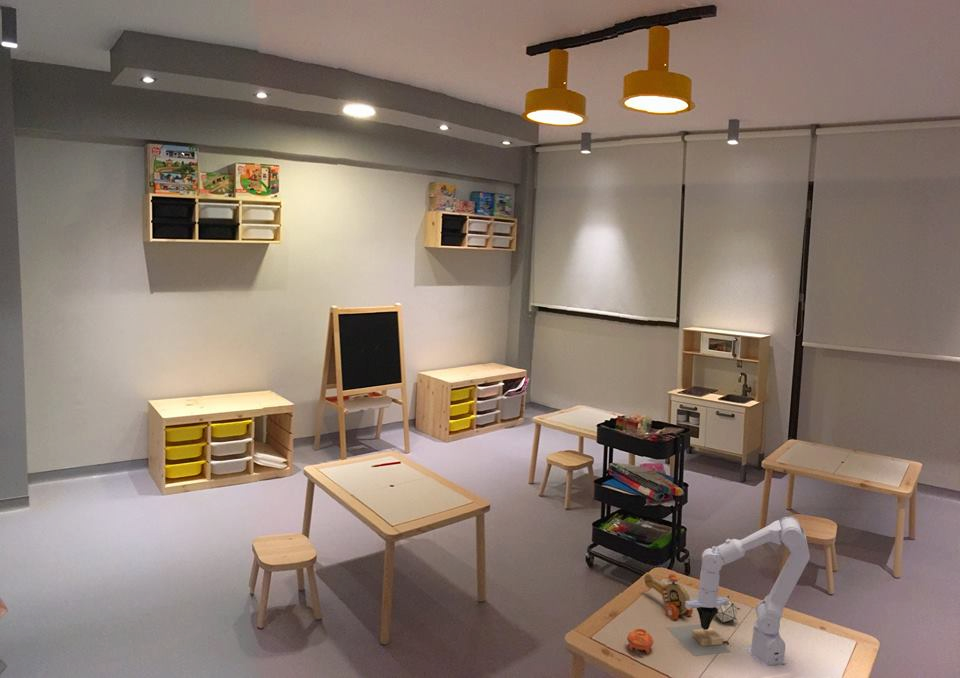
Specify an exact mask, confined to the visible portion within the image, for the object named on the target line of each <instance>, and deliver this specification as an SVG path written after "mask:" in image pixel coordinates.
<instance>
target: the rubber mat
mask: <svg viewBox="0 0 960 678" xmlns="http://www.w3.org/2000/svg"><path fill="white" fill-rule="evenodd" d="M666 629H667V631H669V632H670V633H671V634H672V636H673V637H675V639H677V640H678V642H680V644H681V645H683V647H684V648H685V649H686V650H687V651H688V652H689V653H690V654H691V655H692V656H693V657H698V656H707V655H716V654H722V653H731V650H730V649H729V648H728V647H727V646H726V645H725V644H724V643H722V644H719V645H710V646H702V645H701V644H700V643H699V642H698V641H697V640H696V639H695V638H694V637H693V636H692V630H697V629H703V628H702V627H701V623H699V624H690V625H682V626H681V625H680V626H670V627H666Z"/></svg>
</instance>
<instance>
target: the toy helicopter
mask: <svg viewBox="0 0 960 678" xmlns="http://www.w3.org/2000/svg"><path fill="white" fill-rule="evenodd" d="M643 579H644V583H645V586H646V587H647V588H648V589H653V590H655V591H656V592H657V593H659V594H660V595H661V598H662V600H663V601H662V602H663V604H662V608H663V609H664V610H665V611H664V613H665V615H666V617H668V618H669V619H670V620H672V621H673V620H678V618H679V616H680V615H684V616H685V617H690V616H692V614H693V609H694V608H691V610H688V609H687V608H686V607H685V601H689V600H691V599H690V595H689V593H688V591H687V590H686V588H685V587H684V586H682V585H681V584H678V583H679V580H680V579H681V578H680V577H678V576H676V575H675V574H674V573H670V574H669V575H668V576H666V577H665V579H667V583H668V584H665V583H663V582H661V581H660V580H658V579H657V578H656V575H654V574H653V573H648V574H645V575H644V578H643Z"/></svg>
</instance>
